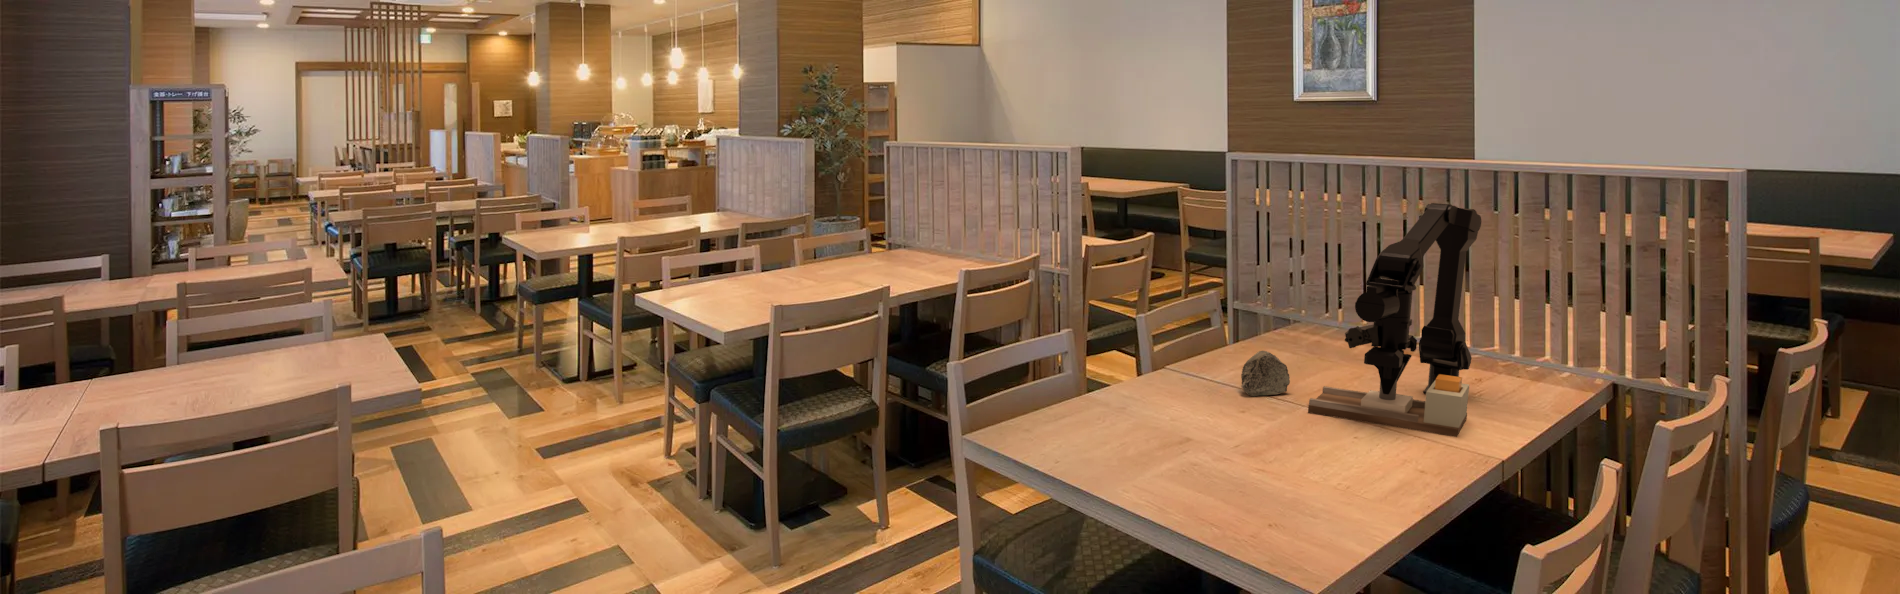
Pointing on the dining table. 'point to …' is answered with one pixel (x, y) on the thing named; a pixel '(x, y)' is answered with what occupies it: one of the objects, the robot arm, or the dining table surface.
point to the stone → (1264, 375)
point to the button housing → (1446, 406)
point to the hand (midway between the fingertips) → (1387, 392)
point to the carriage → (1387, 400)
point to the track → (1375, 412)
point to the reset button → (1448, 383)
